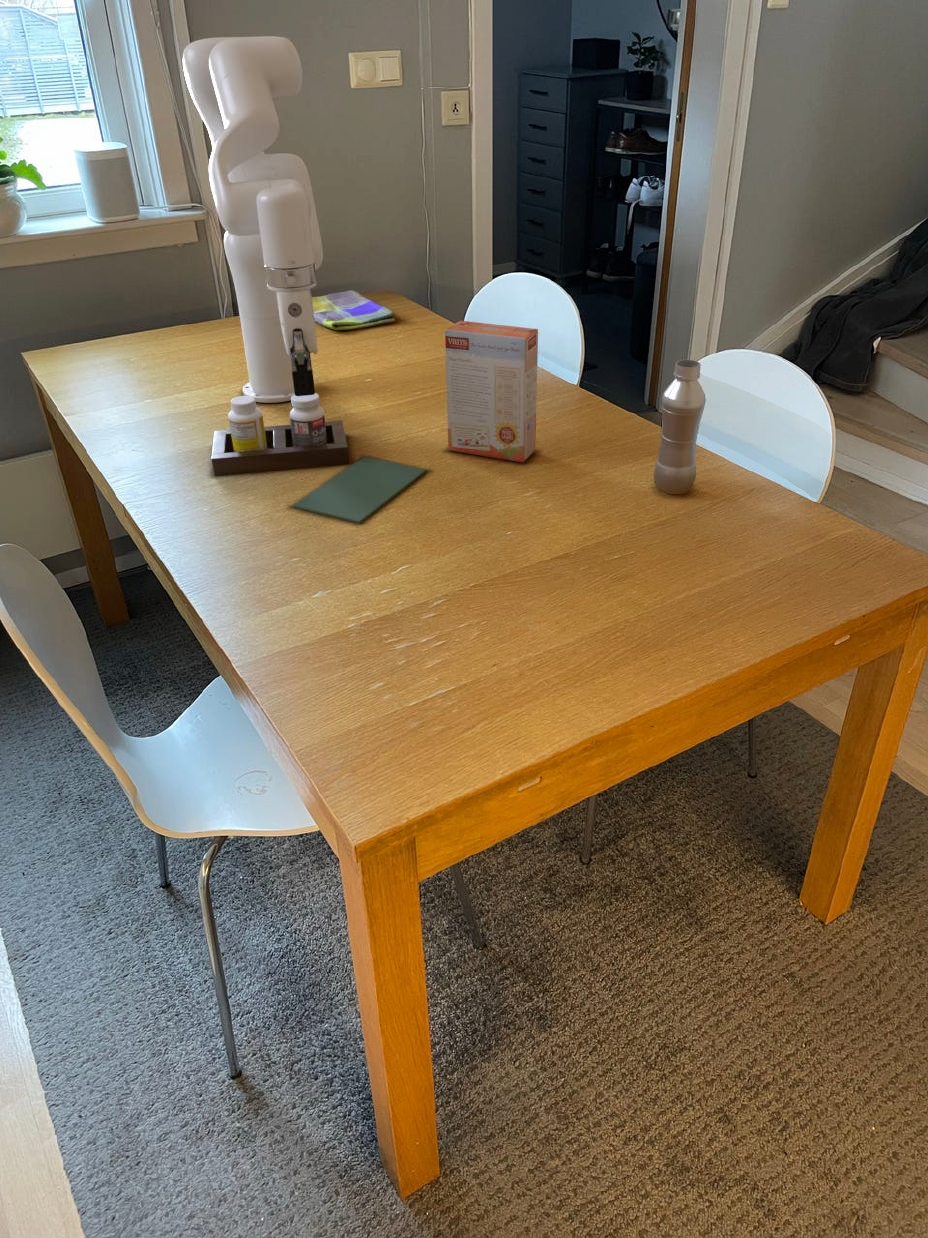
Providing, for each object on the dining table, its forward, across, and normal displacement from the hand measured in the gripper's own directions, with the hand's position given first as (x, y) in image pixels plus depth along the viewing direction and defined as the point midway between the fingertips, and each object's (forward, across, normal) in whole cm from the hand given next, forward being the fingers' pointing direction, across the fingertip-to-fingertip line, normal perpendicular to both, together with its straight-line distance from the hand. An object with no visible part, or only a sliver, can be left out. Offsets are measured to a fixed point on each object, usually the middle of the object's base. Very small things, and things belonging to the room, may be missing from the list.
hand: (304, 385), depth 151 cm
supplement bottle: (+12, +1, +10) cm, 16 cm away
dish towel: (+11, +82, -12) cm, 83 cm away
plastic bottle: (+13, -26, -55) cm, 62 cm away
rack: (+12, +1, +5) cm, 13 cm away
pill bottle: (+12, +1, 0) cm, 12 cm away
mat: (+12, -15, -7) cm, 21 cm away
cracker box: (+12, -5, -30) cm, 33 cm away
